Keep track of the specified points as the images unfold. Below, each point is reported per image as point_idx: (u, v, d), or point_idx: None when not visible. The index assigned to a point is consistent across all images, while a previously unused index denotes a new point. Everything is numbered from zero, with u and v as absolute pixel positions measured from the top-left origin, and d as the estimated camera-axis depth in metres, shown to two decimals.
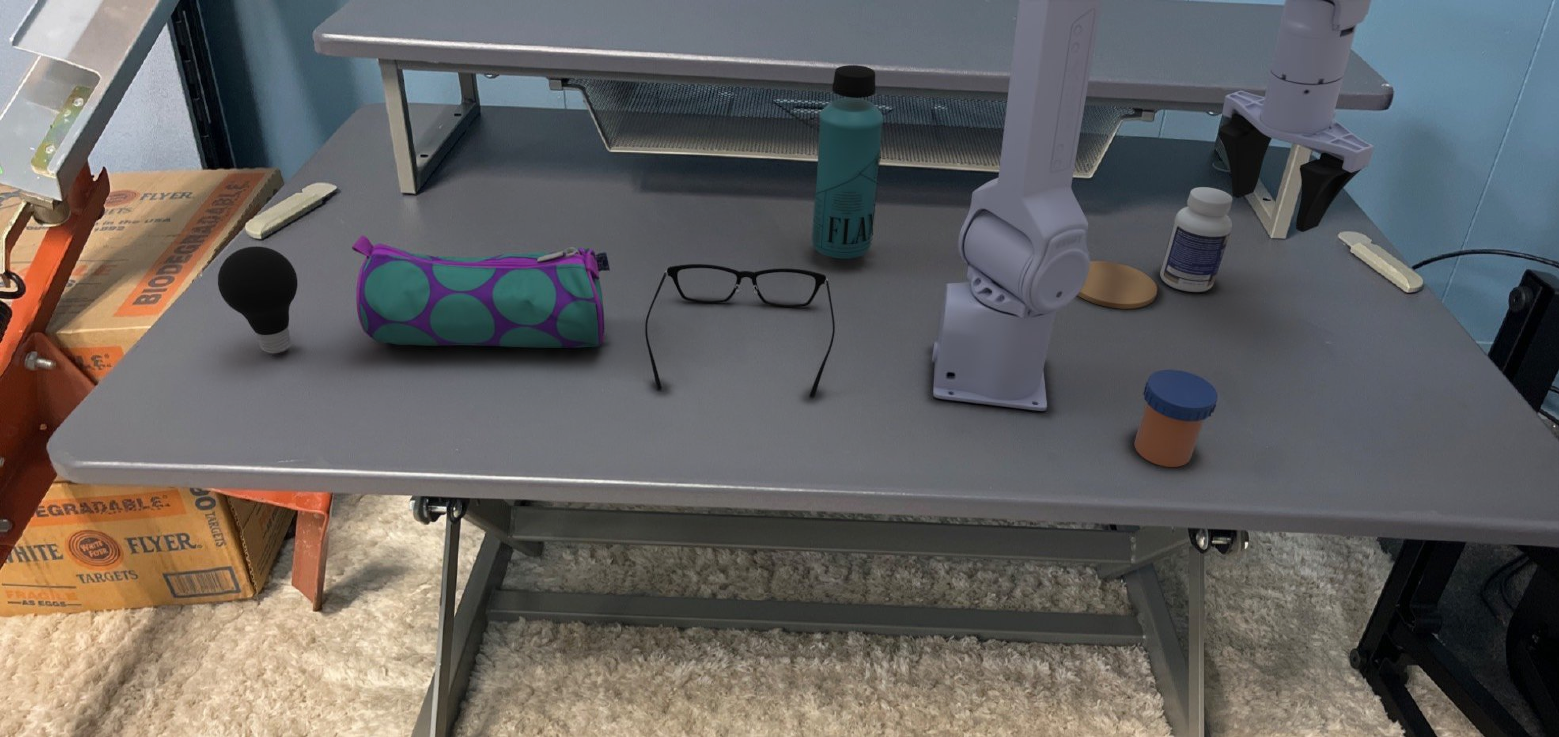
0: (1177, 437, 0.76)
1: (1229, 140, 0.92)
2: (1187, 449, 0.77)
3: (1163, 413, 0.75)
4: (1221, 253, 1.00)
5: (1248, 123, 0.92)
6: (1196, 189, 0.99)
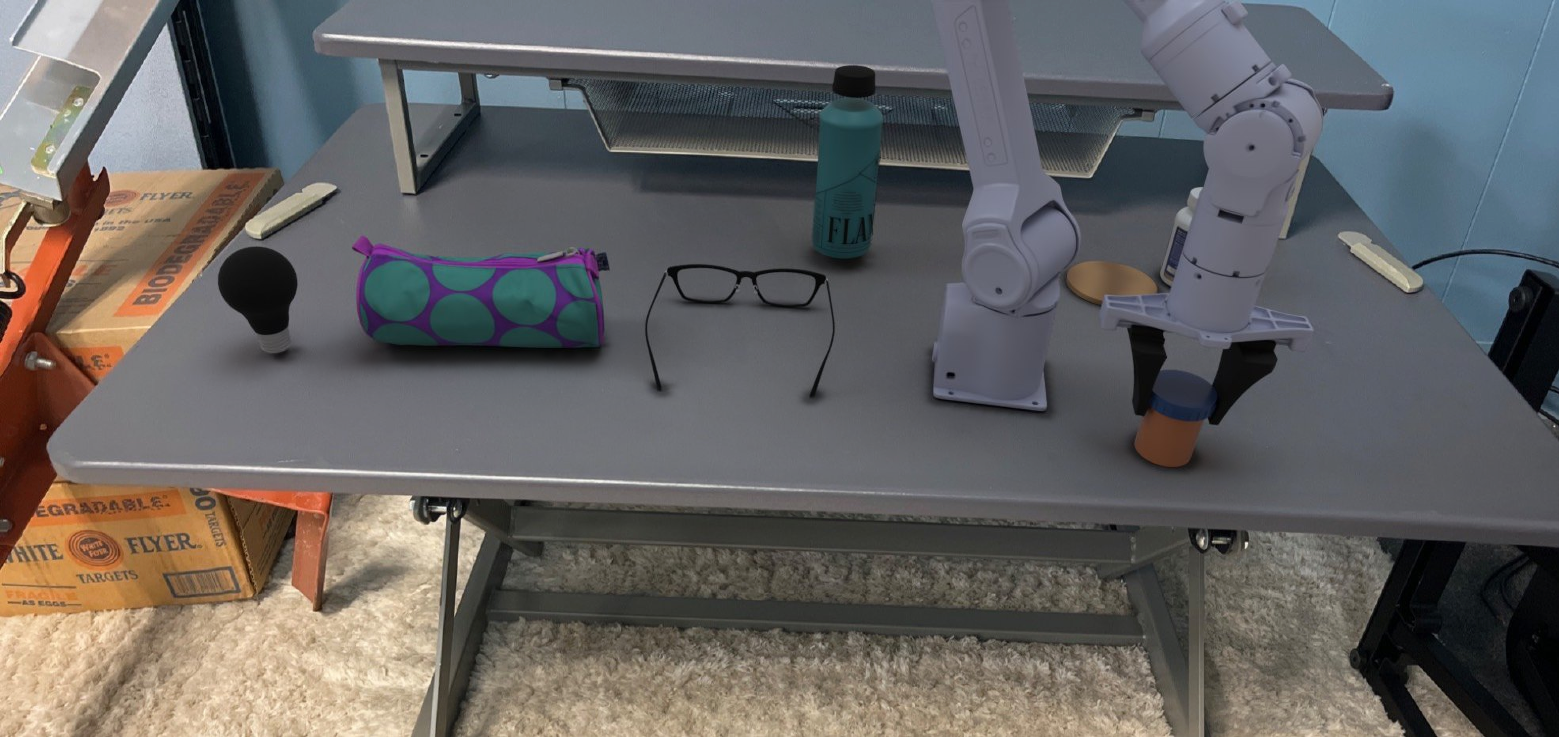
0: (1177, 437, 0.76)
1: None
2: (1187, 449, 0.77)
3: (1163, 413, 0.75)
4: None
5: None
6: (1196, 189, 0.99)
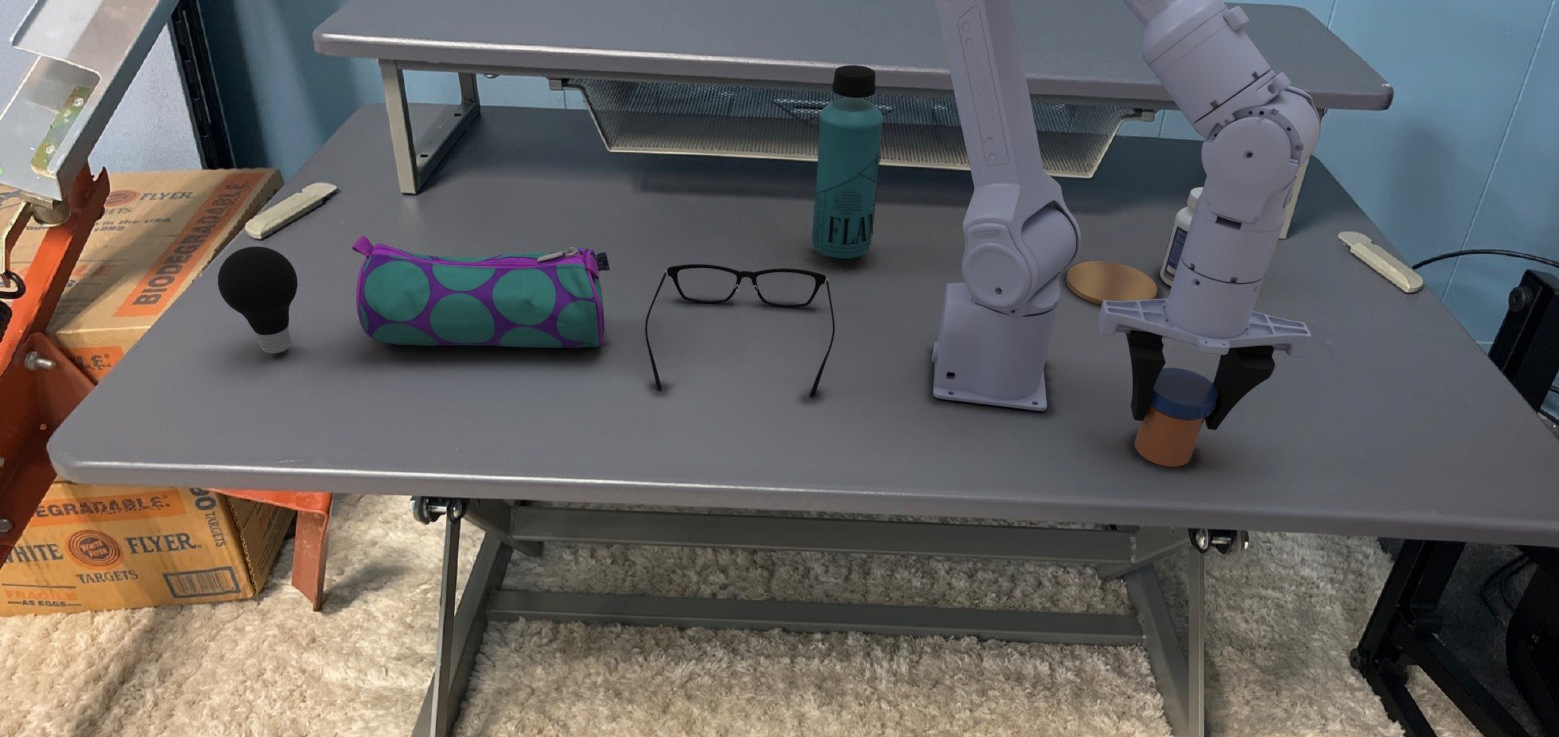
0: (1181, 437, 0.76)
1: None
2: (1190, 448, 0.77)
3: (1199, 417, 0.75)
4: None
5: None
6: (1196, 189, 0.99)
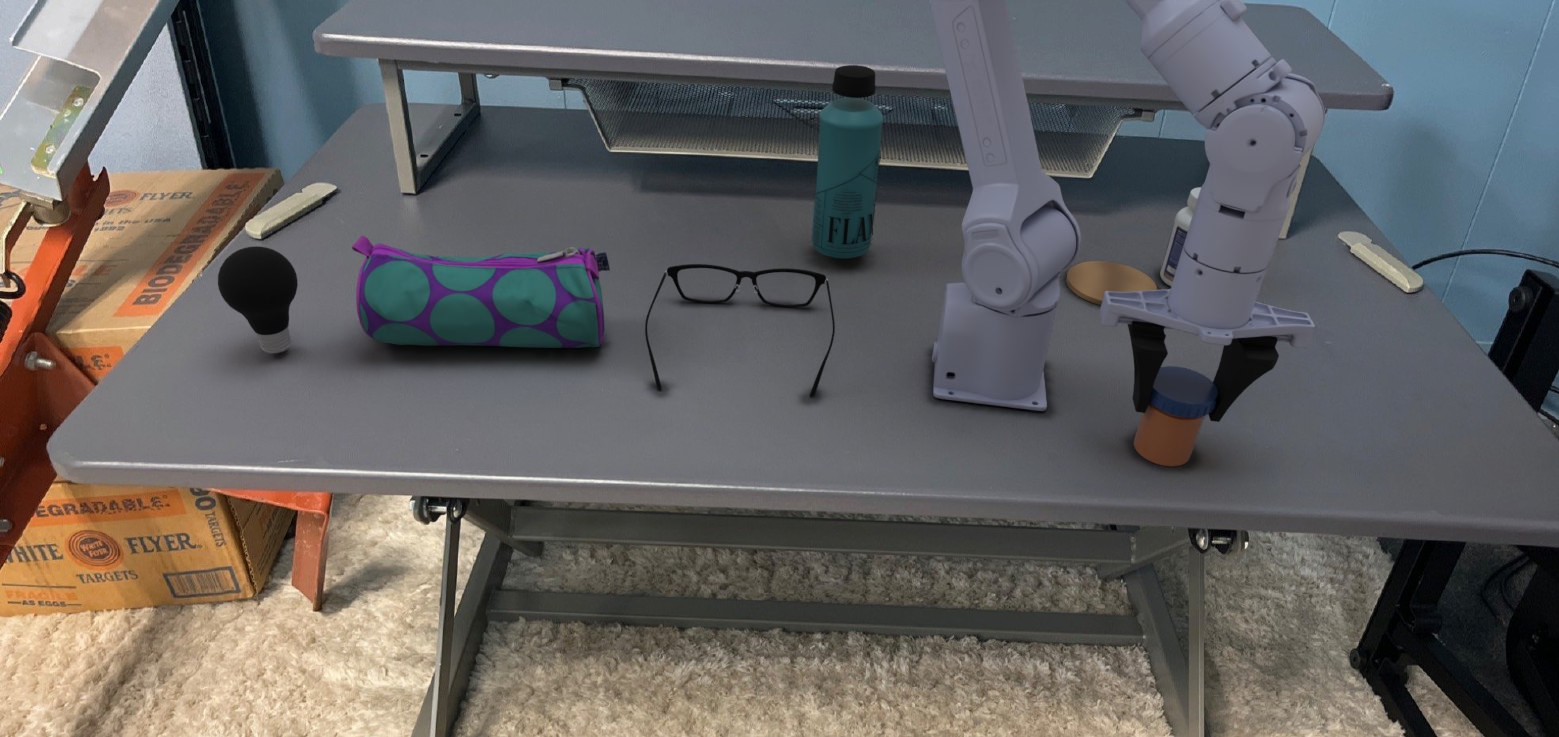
0: (1187, 436, 0.76)
1: None
2: (1193, 445, 0.78)
3: None
4: None
5: None
6: (1196, 189, 0.99)
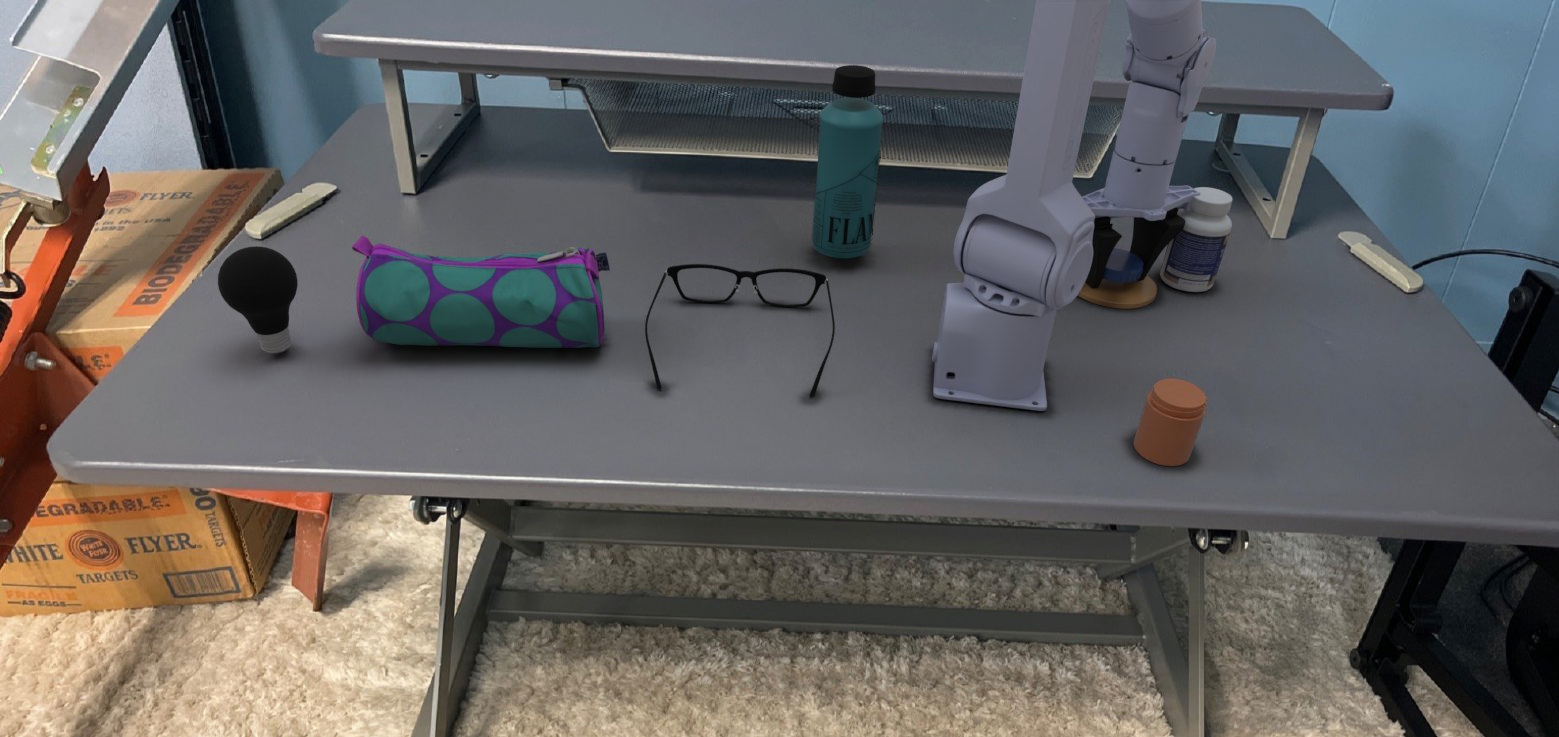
0: (1190, 435, 0.76)
1: None
2: (1194, 443, 0.78)
3: None
4: (1221, 253, 1.00)
5: None
6: (1196, 189, 0.99)
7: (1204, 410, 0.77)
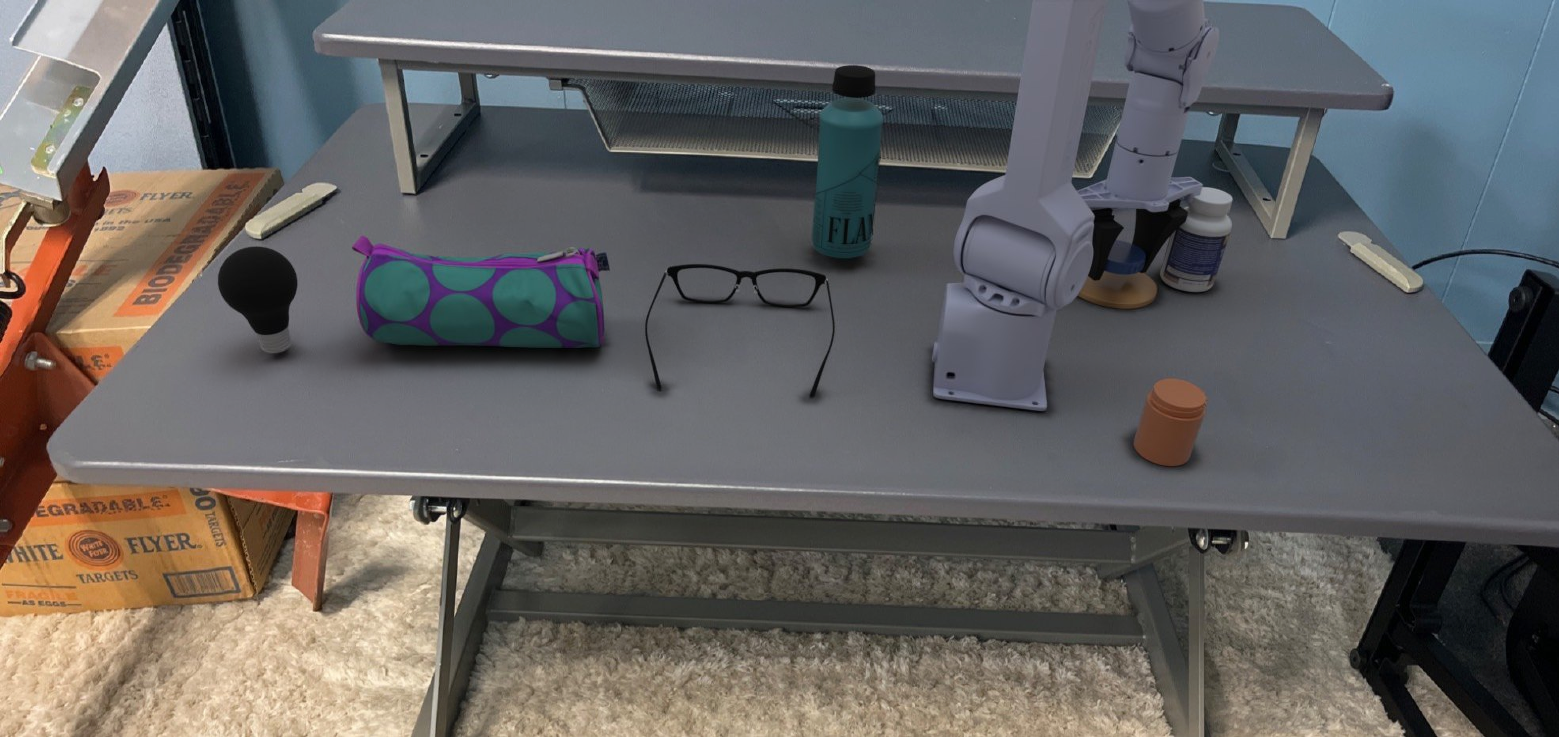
0: (1190, 435, 0.76)
1: None
2: (1194, 443, 0.78)
3: None
4: (1221, 253, 1.00)
5: None
6: None
7: (1204, 410, 0.77)
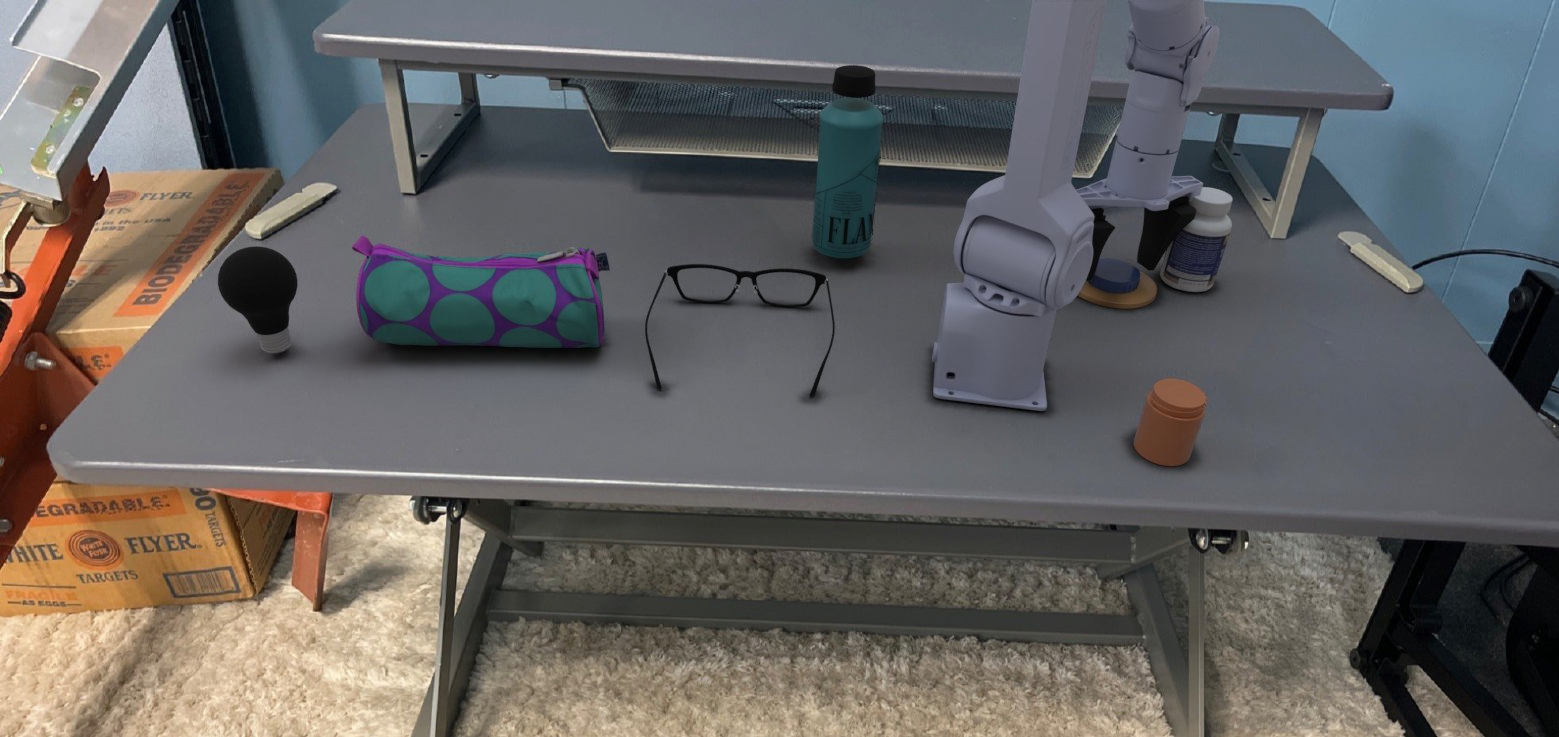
0: (1190, 435, 0.76)
1: None
2: (1194, 443, 0.78)
3: None
4: (1221, 253, 1.00)
5: None
6: None
7: (1204, 410, 0.77)
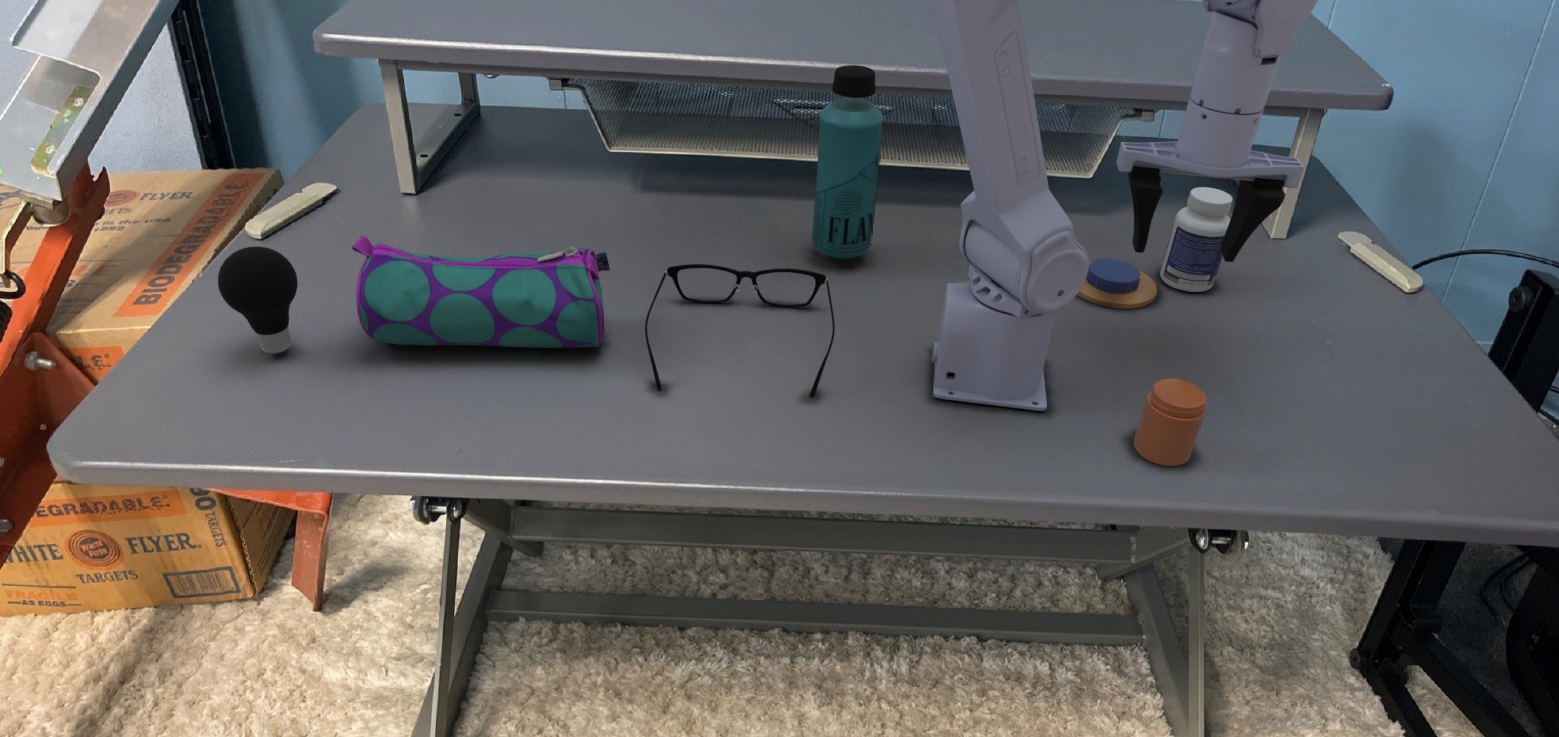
0: (1190, 435, 0.76)
1: (1152, 194, 0.83)
2: (1194, 443, 0.78)
3: None
4: (1221, 253, 1.00)
5: (1156, 172, 0.84)
6: (1196, 189, 0.99)
7: (1204, 410, 0.77)
